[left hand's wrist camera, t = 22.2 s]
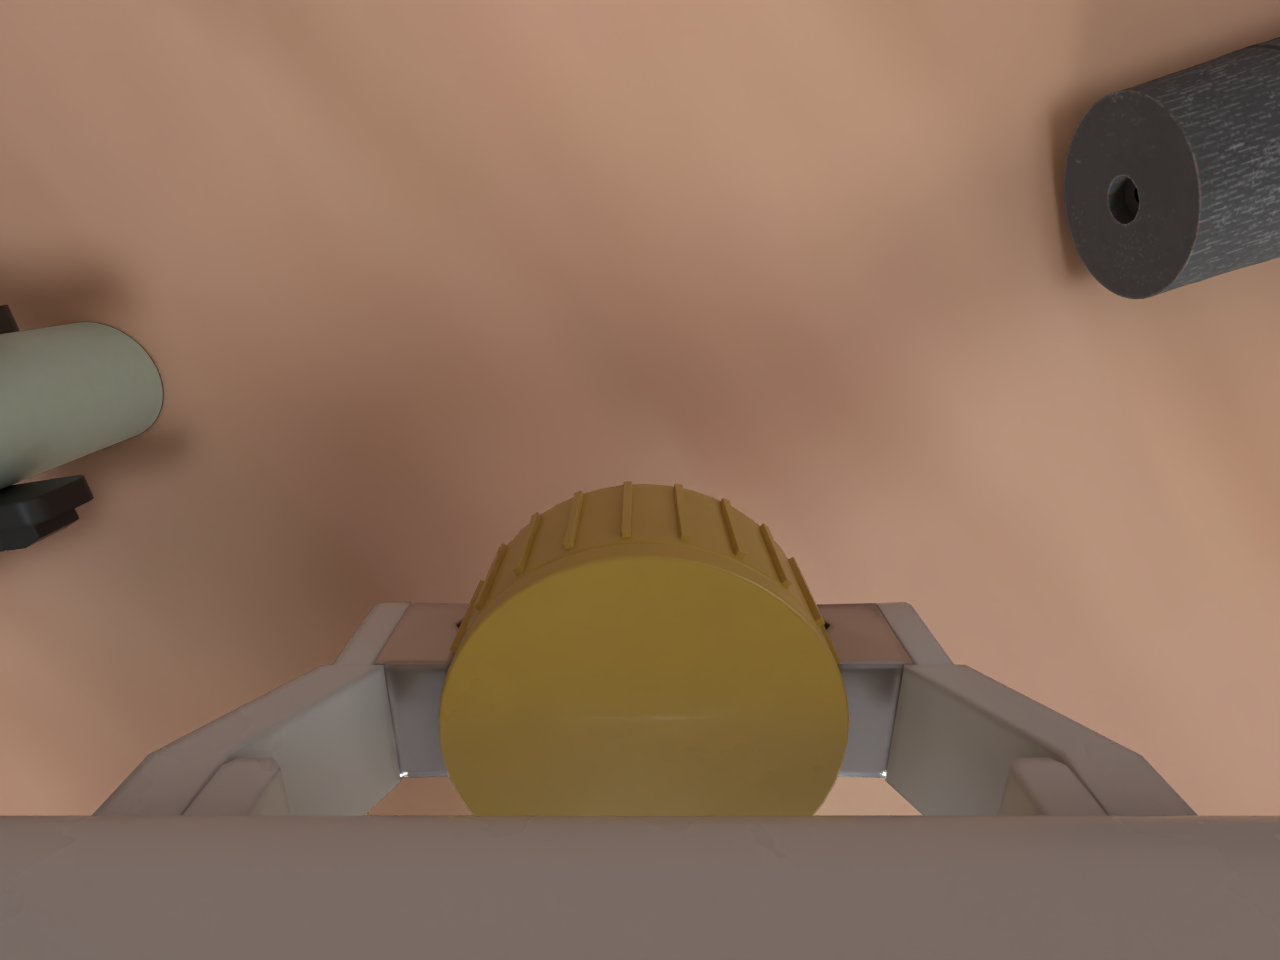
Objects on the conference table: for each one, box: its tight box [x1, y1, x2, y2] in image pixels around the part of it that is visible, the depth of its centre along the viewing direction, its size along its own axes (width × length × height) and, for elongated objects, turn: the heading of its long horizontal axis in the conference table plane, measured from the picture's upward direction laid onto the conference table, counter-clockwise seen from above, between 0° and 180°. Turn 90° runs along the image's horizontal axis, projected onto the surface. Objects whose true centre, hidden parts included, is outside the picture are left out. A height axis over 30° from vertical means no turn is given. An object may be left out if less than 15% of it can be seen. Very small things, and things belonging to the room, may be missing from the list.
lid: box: [438, 481, 849, 816], centre depth 9 cm, size 5×5×2 cm
